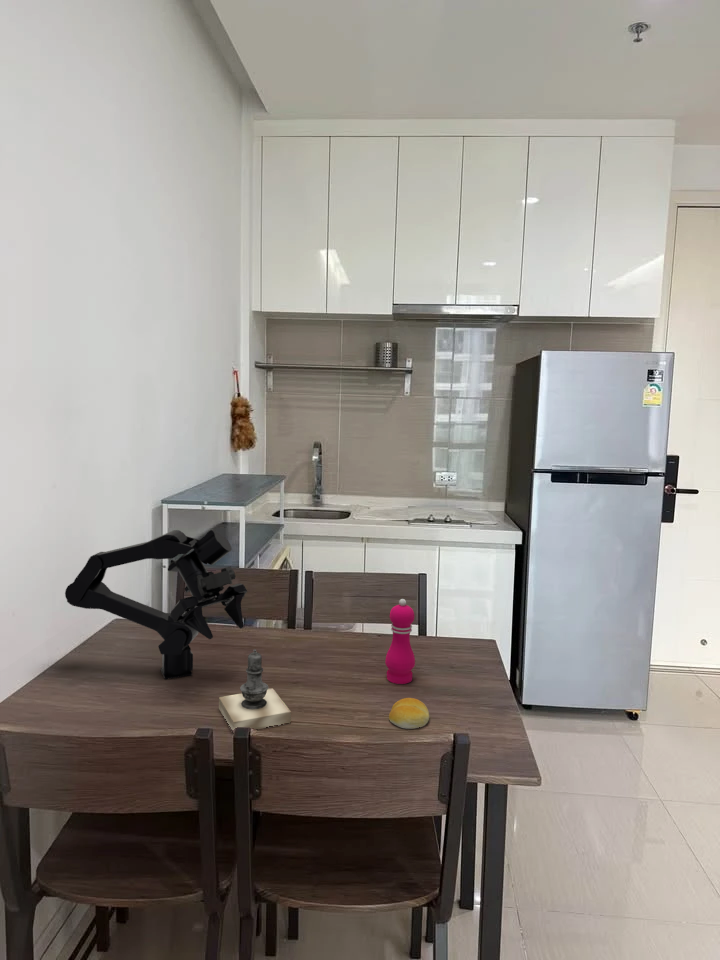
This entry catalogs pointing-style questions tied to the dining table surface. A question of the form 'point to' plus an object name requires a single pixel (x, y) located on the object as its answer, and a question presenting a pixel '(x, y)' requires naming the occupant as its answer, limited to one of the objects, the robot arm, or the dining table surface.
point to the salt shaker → (254, 683)
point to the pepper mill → (400, 645)
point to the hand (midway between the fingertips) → (227, 632)
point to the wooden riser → (254, 711)
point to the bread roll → (409, 713)
